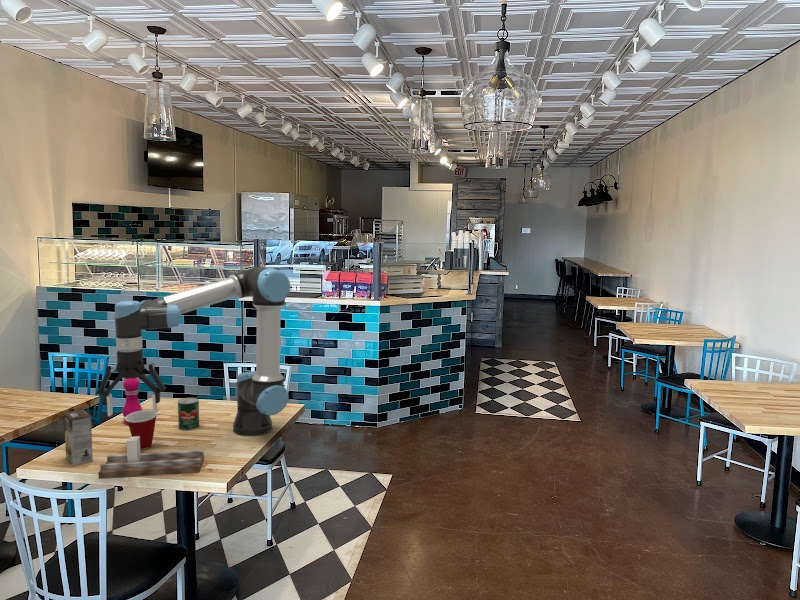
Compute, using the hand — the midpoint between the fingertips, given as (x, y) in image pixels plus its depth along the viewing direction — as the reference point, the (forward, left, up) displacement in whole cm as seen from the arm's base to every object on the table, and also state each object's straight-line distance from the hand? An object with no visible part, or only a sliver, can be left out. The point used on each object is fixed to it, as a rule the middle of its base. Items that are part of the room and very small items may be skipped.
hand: (133, 413), depth 185 cm
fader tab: (0, 0, -16) cm, 16 cm away
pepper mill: (+12, -48, -19) cm, 53 cm away
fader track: (-6, 0, -19) cm, 19 cm away
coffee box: (+20, -11, -19) cm, 30 cm away
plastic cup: (+2, -20, -19) cm, 27 cm away
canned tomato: (-11, -39, -19) cm, 45 cm away
